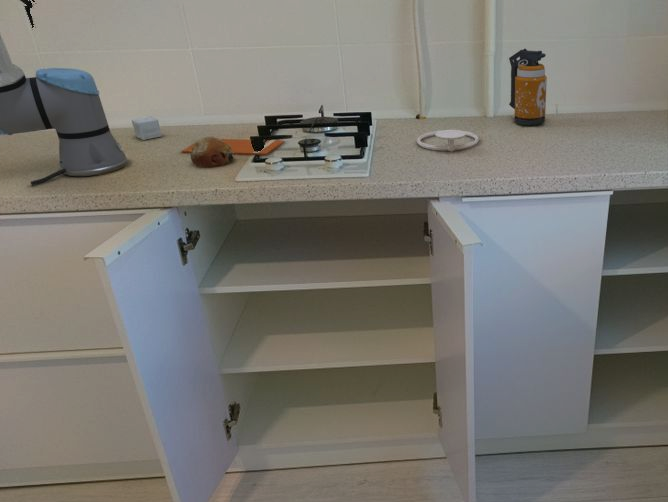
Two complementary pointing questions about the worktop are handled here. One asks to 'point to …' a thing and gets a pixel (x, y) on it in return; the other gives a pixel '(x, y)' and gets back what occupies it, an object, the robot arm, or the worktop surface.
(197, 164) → the bread roll
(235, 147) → the tea towel
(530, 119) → the canister
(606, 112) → the worktop surface
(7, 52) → the robot arm
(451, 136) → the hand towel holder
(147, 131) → the small box
